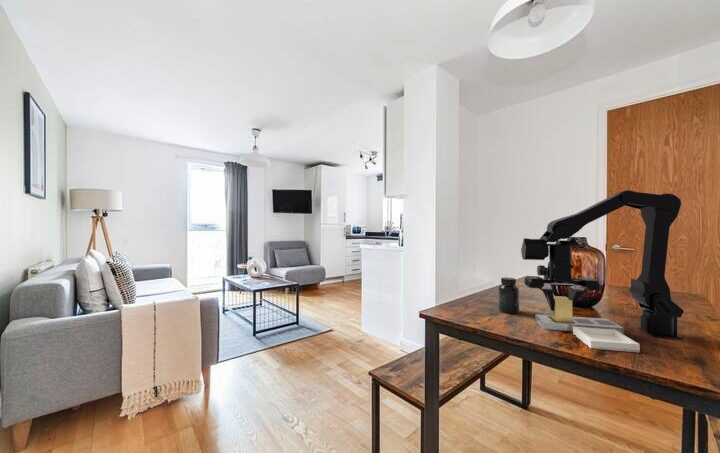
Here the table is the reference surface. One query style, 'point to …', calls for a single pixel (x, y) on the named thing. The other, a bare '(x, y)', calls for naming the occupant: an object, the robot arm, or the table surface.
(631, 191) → the robot arm
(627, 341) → the tray
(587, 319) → the grey flat plate
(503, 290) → the supplement bottle
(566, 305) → the wood grain block
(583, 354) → the table surface
